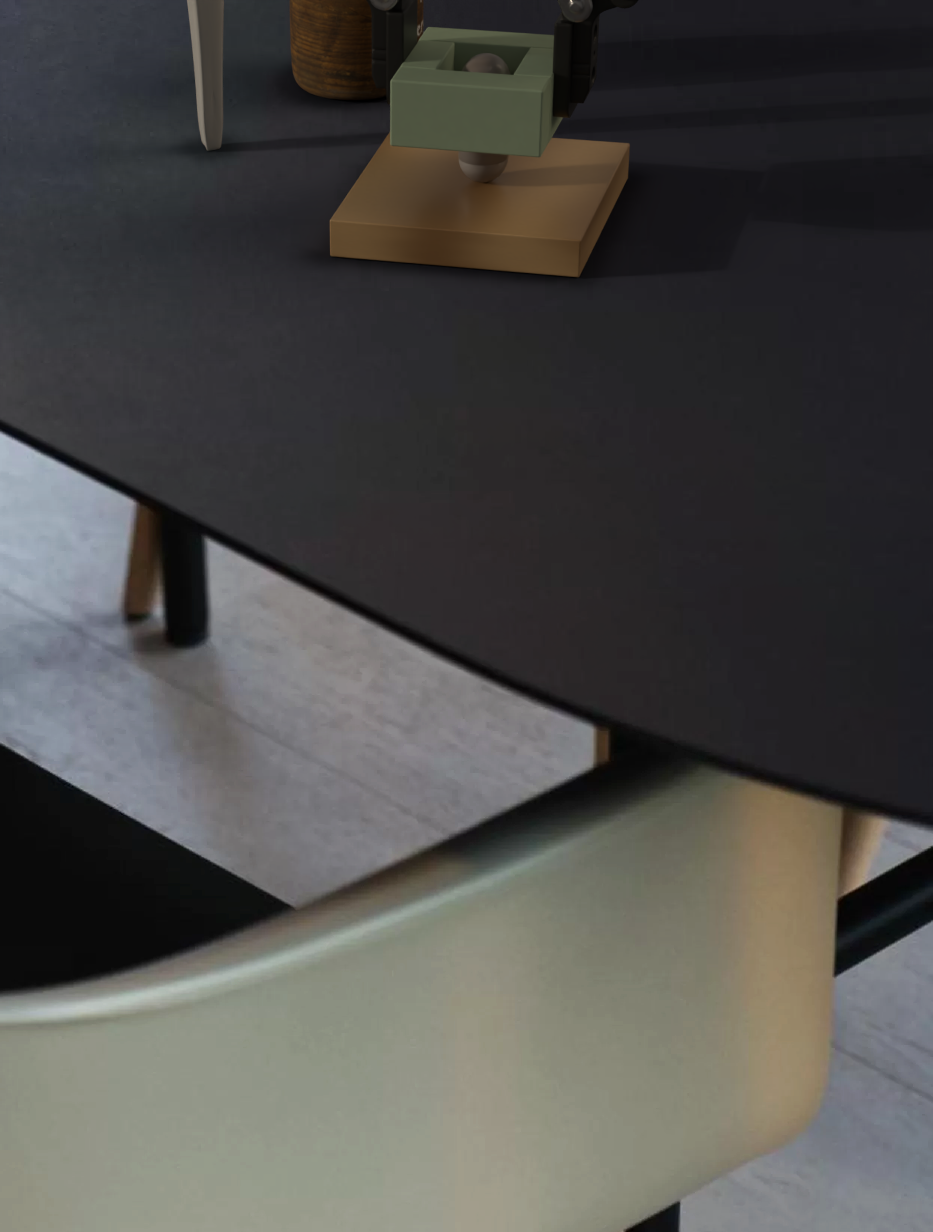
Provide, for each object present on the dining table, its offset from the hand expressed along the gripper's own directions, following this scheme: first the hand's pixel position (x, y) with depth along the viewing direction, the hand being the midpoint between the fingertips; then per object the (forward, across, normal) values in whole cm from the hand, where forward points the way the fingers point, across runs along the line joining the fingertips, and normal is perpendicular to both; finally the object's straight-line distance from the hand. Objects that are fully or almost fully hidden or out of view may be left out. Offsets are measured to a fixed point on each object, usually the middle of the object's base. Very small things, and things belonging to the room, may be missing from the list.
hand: (483, 102), depth 106 cm
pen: (+5, -13, +5) cm, 15 cm away
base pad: (+5, 0, 0) cm, 5 cm away
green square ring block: (+1, 0, 0) cm, 1 cm away
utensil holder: (+5, -9, +14) cm, 17 cm away
